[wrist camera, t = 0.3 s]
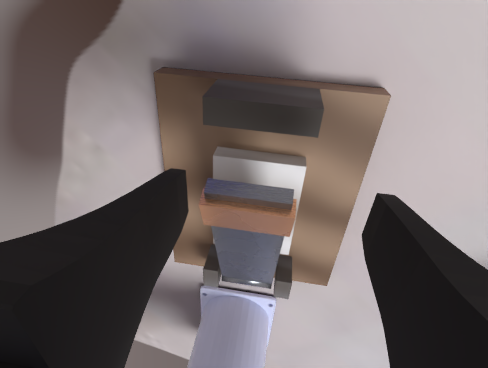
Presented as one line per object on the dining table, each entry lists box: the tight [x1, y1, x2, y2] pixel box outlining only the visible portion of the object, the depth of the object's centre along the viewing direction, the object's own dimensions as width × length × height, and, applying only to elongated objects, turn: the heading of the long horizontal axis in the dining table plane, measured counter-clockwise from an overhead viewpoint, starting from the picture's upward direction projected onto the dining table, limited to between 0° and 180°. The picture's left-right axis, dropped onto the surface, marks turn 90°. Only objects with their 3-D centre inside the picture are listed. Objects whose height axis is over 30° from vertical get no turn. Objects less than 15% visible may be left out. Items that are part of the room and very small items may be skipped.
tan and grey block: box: [199, 178, 297, 289], centre depth 19 cm, size 14×4×1 cm, turn 178°
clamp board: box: [154, 67, 391, 299], centre depth 21 cm, size 17×14×5 cm
